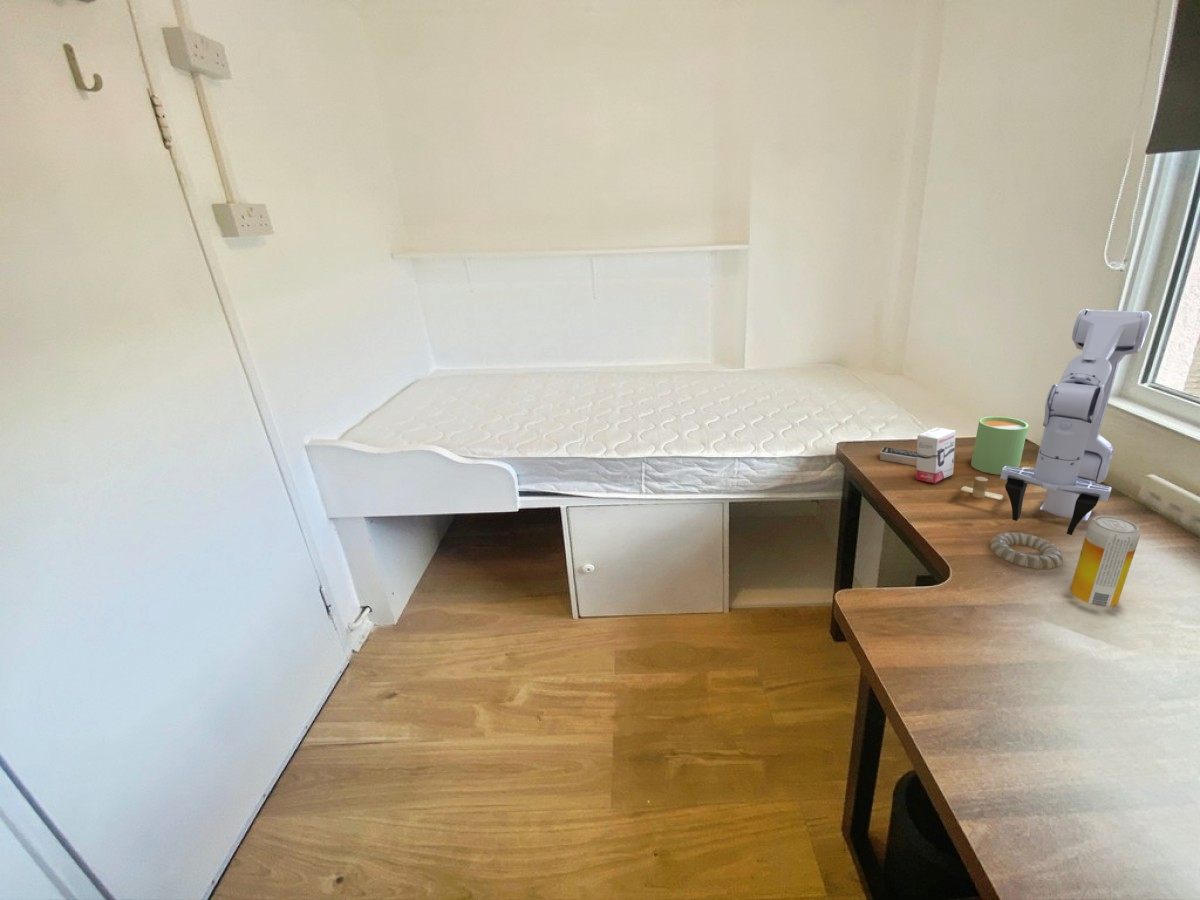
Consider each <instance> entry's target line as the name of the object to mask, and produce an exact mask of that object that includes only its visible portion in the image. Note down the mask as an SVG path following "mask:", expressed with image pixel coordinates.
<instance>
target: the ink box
mask: <svg viewBox="0 0 1200 900" xmlns="http://www.w3.org/2000/svg"><path fill="white" fill-rule="evenodd" d="M956 432H957V431H956V430H953V429H949V428H948V429H947V428H942V427H933V428H931V429H928V430H926V431H924V432H923V431H922V432H921V433H919V434H918V435H917V439H916V440H917V442H916V452H917V466H916V471H915V472H916V474H915V479H916V480H918V481H922V482H925V483H931V484H937V483H939V482H940V481H942V480H944V479H947V478H948V477H951V476H952V475H954V466H955V465H954V464H955V450H956V449H955V448H956V434H957V433H956Z"/></svg>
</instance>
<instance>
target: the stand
mask: <svg viewBox="0 0 1200 900" xmlns="http://www.w3.org/2000/svg"><path fill="white" fill-rule="evenodd" d="M988 481H989V479H988V478H987V477H984V476H975V477H974V482H973V486H972V487H969V486H966V485H964V486H962V487H961V488H960V490H959V491H962V492H966V493H971V496H972V497H974V498H978V499H983V498H985V497H987V498H991V499H996V500H1000V501H1003V499H1004V495H1003V494H999V493H995V492H991V491H987V486H988V483H989V482H988Z"/></svg>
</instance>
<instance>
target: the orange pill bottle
mask: <svg viewBox="0 0 1200 900" xmlns="http://www.w3.org/2000/svg"><path fill="white" fill-rule="evenodd" d="M1139 529H1140V528H1139V526H1138V525H1137V524H1136V523H1134V522H1133V521H1131V520H1128V519H1126V518H1123V517H1119V516H1113V515H1097V516H1095V517H1094V518H1093V519H1092V520H1091V521H1090V522H1089V523H1088V526H1087V528H1086V533H1085V536H1084V540H1083V543H1082V546H1081V550H1080V553H1079V556H1078V561H1077V564H1076V567H1075V571H1074V574H1073V578H1072V581H1071V585H1070V588H1069V590H1070V593H1071V594H1072V595H1073V596H1075V598H1077V599H1079V600H1080V601H1083V602H1085V603H1088V604H1090V605H1094V606H1099V607H1114V606H1117V605H1118V604H1119V601H1120V599H1121V595H1122V593H1123V590H1124V586H1125V584H1126V580H1127V577H1128V574H1129V571H1130V568H1131V565H1132V563H1133V558H1134V556H1135V552H1136V550H1137V546H1138V544H1139V541H1140V538H1141V533H1140V530H1139Z"/></svg>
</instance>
